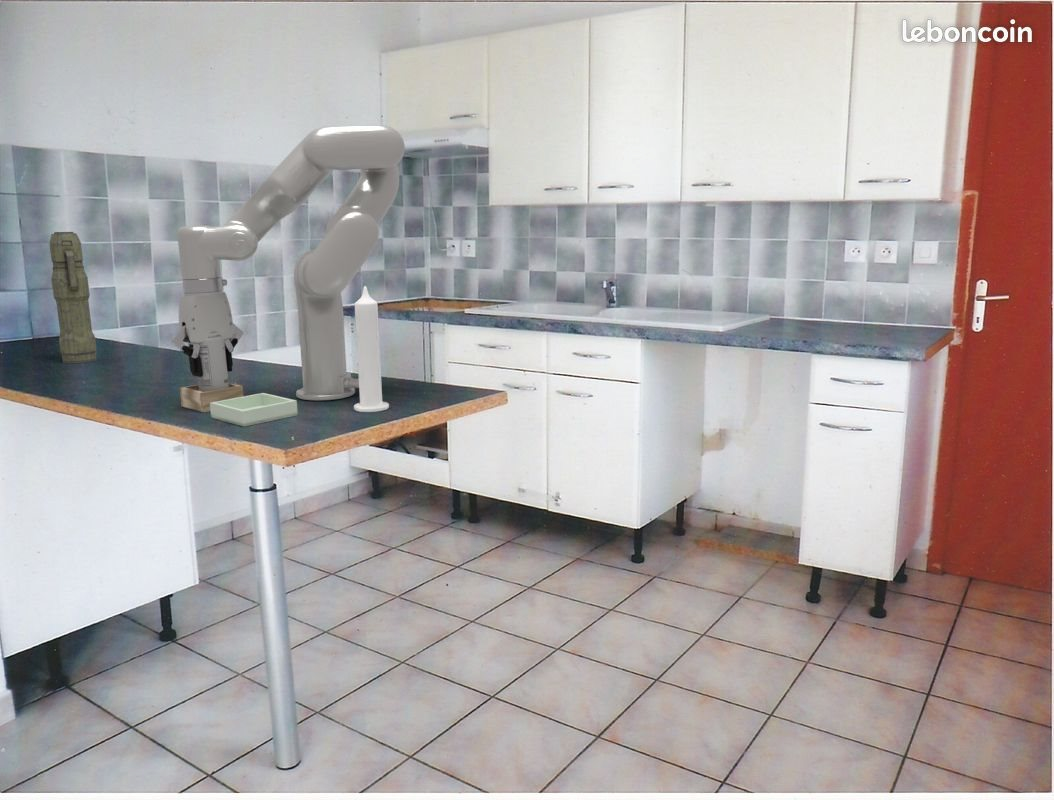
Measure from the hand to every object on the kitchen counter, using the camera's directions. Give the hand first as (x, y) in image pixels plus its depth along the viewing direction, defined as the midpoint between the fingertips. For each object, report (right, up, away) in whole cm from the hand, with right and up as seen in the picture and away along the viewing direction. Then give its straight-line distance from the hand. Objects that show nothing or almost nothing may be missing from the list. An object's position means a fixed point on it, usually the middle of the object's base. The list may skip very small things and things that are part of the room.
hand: (212, 372), depth 183 cm
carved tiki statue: (-58, +5, +59) cm, 83 cm away
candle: (+34, -8, -3) cm, 35 cm away
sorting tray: (+12, -9, -9) cm, 17 cm away
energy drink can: (0, -6, +1) cm, 6 cm away
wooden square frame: (0, -7, +1) cm, 7 cm away
